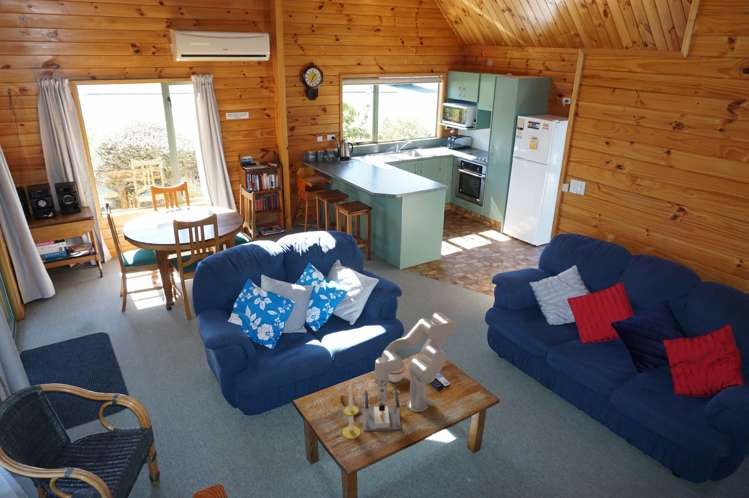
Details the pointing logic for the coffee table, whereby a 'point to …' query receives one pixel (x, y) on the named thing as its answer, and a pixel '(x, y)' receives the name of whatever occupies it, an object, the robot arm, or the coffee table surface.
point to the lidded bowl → (397, 375)
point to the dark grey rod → (366, 400)
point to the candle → (351, 418)
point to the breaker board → (372, 425)
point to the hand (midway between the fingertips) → (381, 404)
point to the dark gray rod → (397, 399)
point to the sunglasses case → (346, 402)
